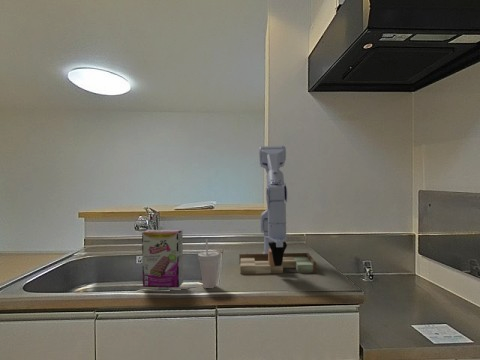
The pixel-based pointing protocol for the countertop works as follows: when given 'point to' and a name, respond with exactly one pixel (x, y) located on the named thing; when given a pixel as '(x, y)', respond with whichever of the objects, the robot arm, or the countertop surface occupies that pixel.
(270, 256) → the block
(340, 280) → the countertop surface
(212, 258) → the smoothie
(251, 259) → the cubby shelf
